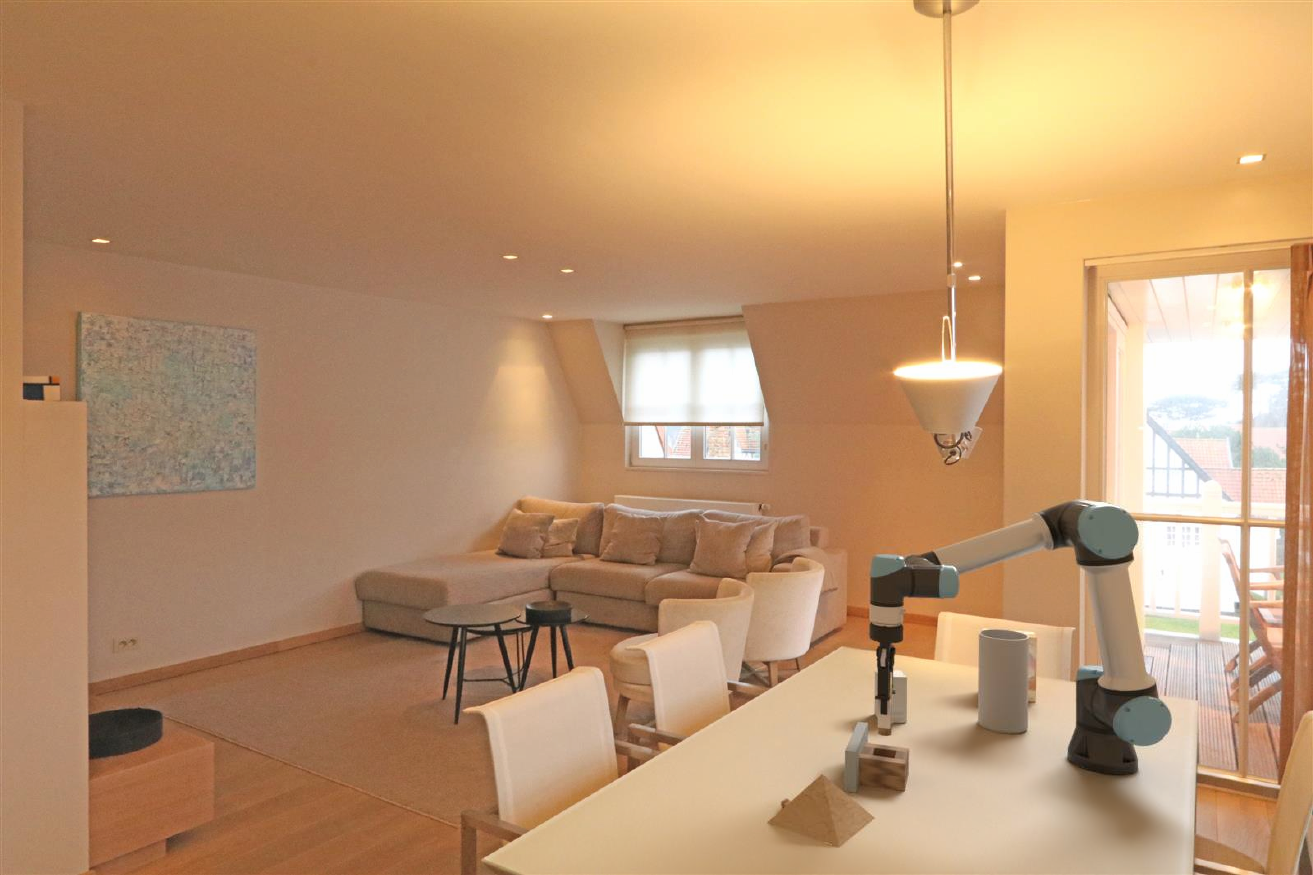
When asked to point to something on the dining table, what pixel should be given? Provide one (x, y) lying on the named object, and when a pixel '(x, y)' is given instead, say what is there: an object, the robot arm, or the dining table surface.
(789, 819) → the model pyramid
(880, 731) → the dowel
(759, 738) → the dining table surface
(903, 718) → the supplement box
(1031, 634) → the coffeecake box
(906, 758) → the block
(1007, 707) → the cylinder vase
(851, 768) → the panel
